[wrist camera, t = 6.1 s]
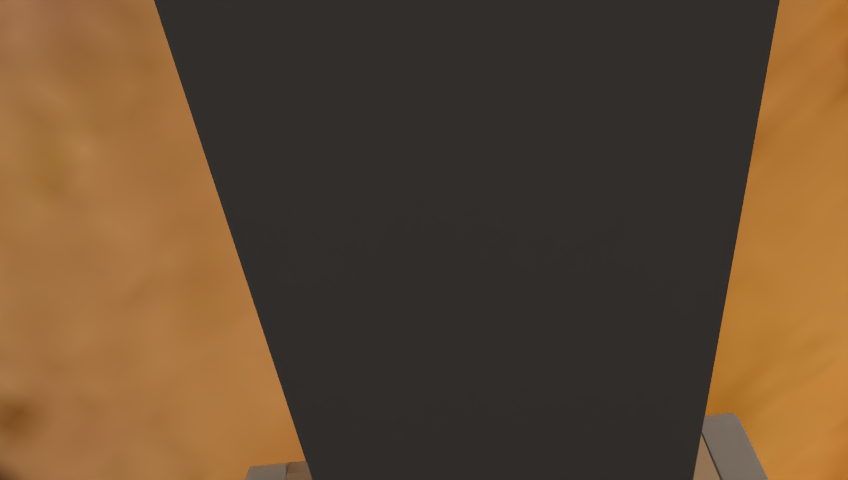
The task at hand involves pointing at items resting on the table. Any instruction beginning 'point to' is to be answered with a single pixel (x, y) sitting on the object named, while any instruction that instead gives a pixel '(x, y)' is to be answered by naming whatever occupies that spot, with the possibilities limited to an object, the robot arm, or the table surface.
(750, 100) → the long dark grey plank
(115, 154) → the table surface
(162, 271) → the table surface
